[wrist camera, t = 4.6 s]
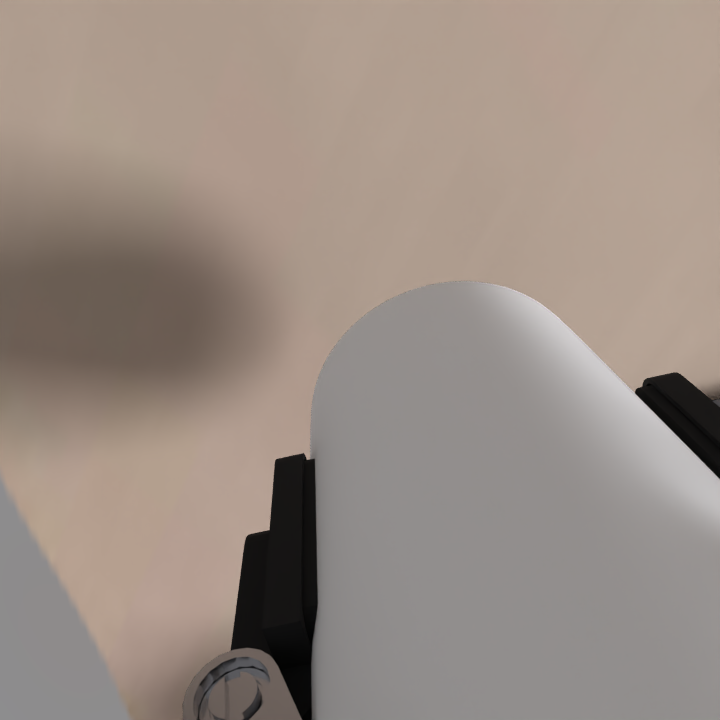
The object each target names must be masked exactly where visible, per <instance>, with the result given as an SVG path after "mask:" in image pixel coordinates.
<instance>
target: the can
mask: <svg viewBox="0 0 720 720" xmlns="http://www.w3.org/2000/svg"><path fill="white" fill-rule="evenodd" d="M310 459H315V487H316V540H317V589H318V607H317V615H316V623H315V629H314V635H313V640H312V660H311V687H312V720H720V479H719V478H718V477H717V476H716V475H715V474H714V473H713V472H712V471H711V470H710V469H709V468H708V467H707V466H706V465H705V464H704V463H703V462H702V461H701V460H700V459H699V458H698V457H697V456H696V455H695V454H694V453H693V452H692V450H691V449H690V448H689V447H688V446H687V445H686V444H685V443H684V442H683V441H682V440H681V439H680V438H679V437H678V436H677V435H676V434H675V433H674V432H673V431H672V430H671V429H670V428H669V427H668V426H667V425H666V424H665V423H664V422H663V421H662V420H661V419H660V418H659V417H658V416H657V415H656V414H655V413H654V412H653V411H652V410H651V409H650V408H649V407H648V406H647V405H646V404H645V403H644V402H643V401H642V400H641V399H640V398H639V397H638V396H637V395H636V394H635V393H634V392H633V391H632V390H631V389H630V388H629V387H628V386H627V385H626V384H625V383H624V382H623V381H622V380H621V379H620V378H619V377H618V376H617V375H616V374H615V373H614V372H613V371H612V370H611V369H610V368H609V367H608V366H607V365H606V364H605V363H604V362H603V361H602V360H601V359H600V358H599V357H598V356H597V355H596V354H595V353H594V352H593V351H592V350H591V349H590V348H589V347H588V346H587V345H586V344H585V343H584V342H583V341H582V340H581V339H580V338H579V337H578V336H577V335H576V334H575V333H574V332H573V331H572V330H571V329H570V328H569V327H568V326H567V325H566V324H565V323H564V322H562V321H561V320H560V319H559V318H558V317H557V316H556V315H555V314H554V313H552V312H551V311H550V310H549V309H547V308H546V307H545V306H543V305H542V304H540V303H539V302H537V301H536V300H534V299H532V298H530V297H529V296H527V295H525V294H523V293H520V292H518V291H515V290H513V289H510V288H507V287H503V286H499V285H495V284H490V283H483V282H473V281H455V282H444V283H437V284H432V285H428V286H423V287H420V288H416V289H413V290H410V291H408V292H405V293H402V294H400V295H398V296H396V297H393V298H391V299H389V300H387V301H386V302H384V303H382V304H380V305H379V306H377V307H376V308H374V309H373V310H371V311H370V312H368V313H367V314H366V315H364V316H363V317H362V318H361V319H359V320H358V321H357V322H356V323H355V324H354V325H353V326H352V327H351V328H350V329H349V330H348V331H347V332H346V333H345V334H344V335H343V336H342V337H341V339H340V340H339V341H338V342H337V344H336V345H335V346H334V348H333V349H332V351H331V352H330V354H329V356H328V357H327V359H326V361H325V363H324V365H323V367H322V369H321V371H320V374H319V377H318V380H317V383H316V386H315V390H314V395H313V401H312V408H311V429H310Z"/></svg>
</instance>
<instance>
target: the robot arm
mask: <svg viewBox="0 0 720 720" xmlns="http://www.w3.org/2000/svg"><path fill="white" fill-rule="evenodd" d="M635 394H636V395H637V396H638V397H639V398H640V399H641V400H642V401H643V402H644V403H645V404H646V405H647V406H648V407H649V408H650V409H651V410H652V411H653V412H654V413H655V414H656V415H657V416H658V417H659V418H660V419H661V420H662V421H663V422H664V423H665V424H666V425H667V426H668V427H669V428H670V429H671V430H672V431H673V432H674V433H675V434H676V435H677V436H678V437H679V438H680V439H681V440H682V441H683V442H684V443H685V444H686V445H687V446H688V447H689V448H690V449H691V450H692V452H693V453H694V454H695V455H696V456H697V457H698V458H699V459H700V460H701V461H702V462H703V463H704V464H705V465H706V466H707V467H708V468H709V469H710V470H711V471H712V472H713V473H714V474H715V475H716V476H717V477H718V478H719V479H720V407H719V406H718V405H717V404H715V403H714V402H713V401H712V400H711V399H710V398H708V397H707V396H706V395H705V394H704V393H702V392H701V391H700V390H699V389H698V388H696V387H695V386H694V385H693V384H692V383H690V382H689V381H688V380H687V379H686V378H684V377H683V376H682V375H681V374H679V373H669V374H665V375H660V376H656V377H651V378H647V379H645V380H644V382H643V387H640V388H637V389H636V391H635ZM317 607H318V589H317V540H316V487H315V459H310V460H307V459H306V457H305V454H304V453H302V454H298V455H293V456H289V457H284V458H280V459H276V461H275V470H274V482H273V495H272V507H271V520H270V530H268V531H263V532H259V533H254V534H249V535H248V536H247V537H246V540H245V545H244V552H243V560H242V568H241V576H240V583H239V591H238V599H237V606H236V614H235V622H234V630H233V637H232V645H231V651H229V652H227V653H224V654H222V655H219V656H218V657H216V658H215V659H213V660H212V661H211V662H209V663H208V664H206V665H205V666H204V667H203V668H202V669H201V671H200V672H199V673H198V674H197V675H196V676H195V677H194V679H193V680H192V682H191V684H190V686H189V687H188V689H187V691H186V694H185V698H184V702H183V720H312V687H311V660H312V640H313V635H314V629H315V623H316V615H317Z"/></svg>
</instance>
